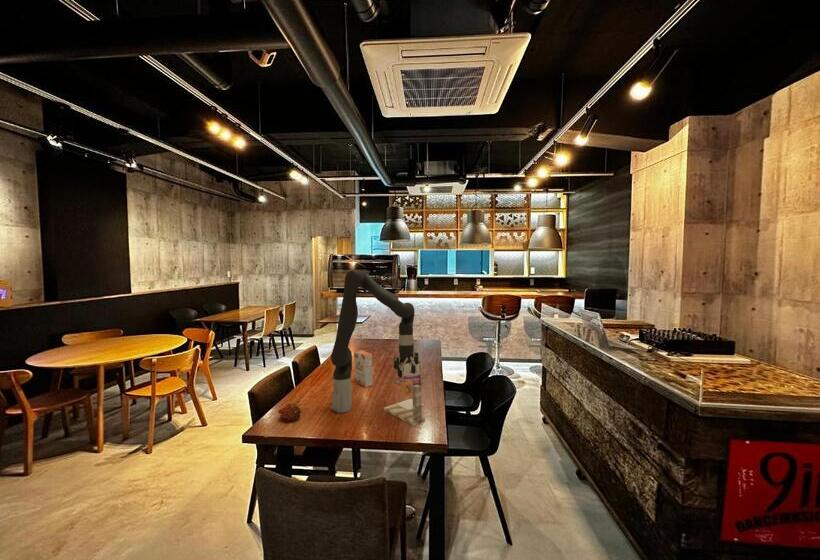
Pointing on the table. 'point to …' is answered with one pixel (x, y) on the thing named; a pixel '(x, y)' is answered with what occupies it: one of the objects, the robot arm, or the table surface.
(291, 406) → the brown rounded piece
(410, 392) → the loop
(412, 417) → the hook stand
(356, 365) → the cracker box
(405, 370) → the candy bar box
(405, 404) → the mat
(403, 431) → the table surface
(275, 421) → the table surface
